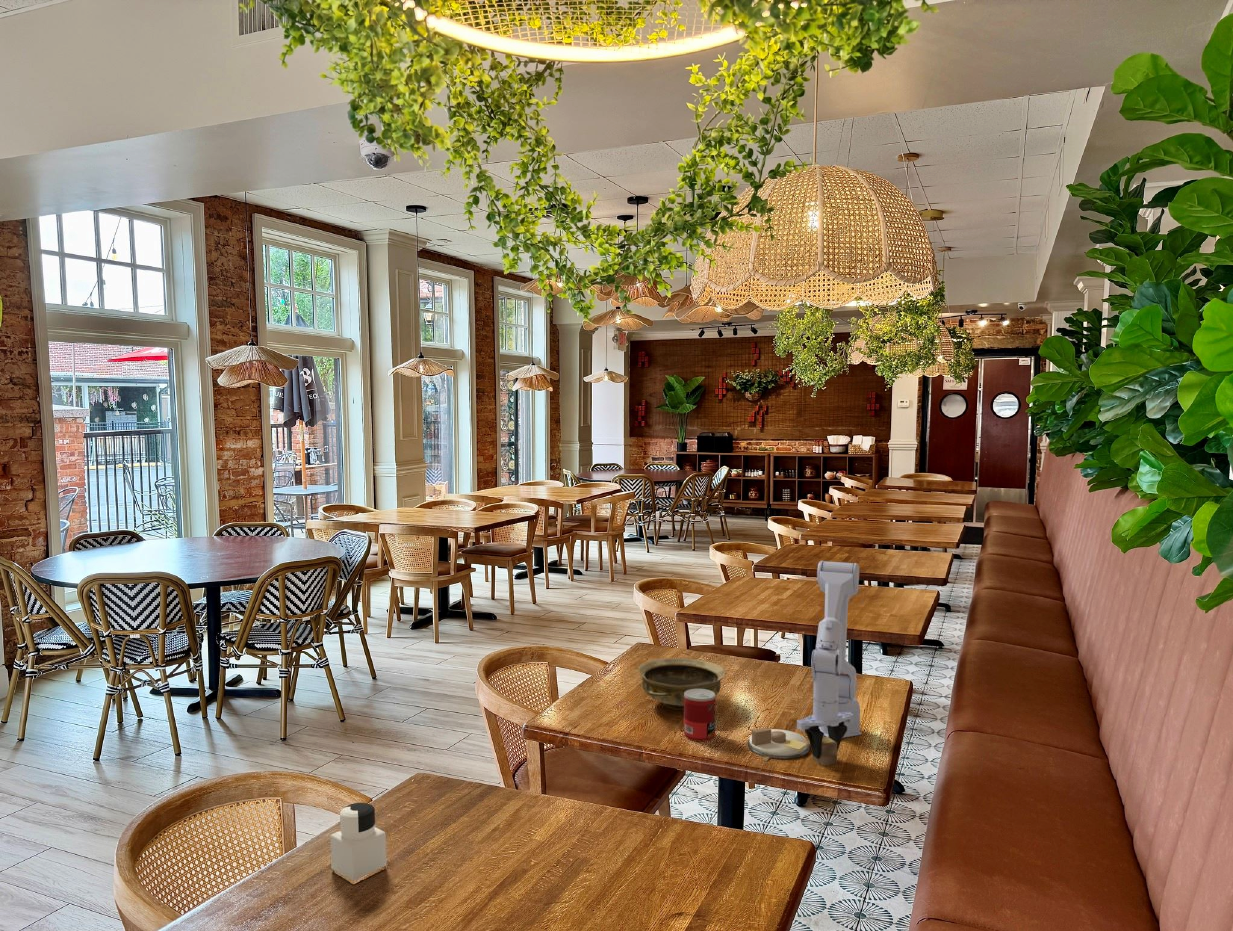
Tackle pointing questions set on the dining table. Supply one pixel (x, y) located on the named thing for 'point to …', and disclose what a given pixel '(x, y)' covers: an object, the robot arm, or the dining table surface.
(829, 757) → the walnut block
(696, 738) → the canned food
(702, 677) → the ceramic bowl
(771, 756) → the bearing plate
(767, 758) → the index mark
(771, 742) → the turntable
